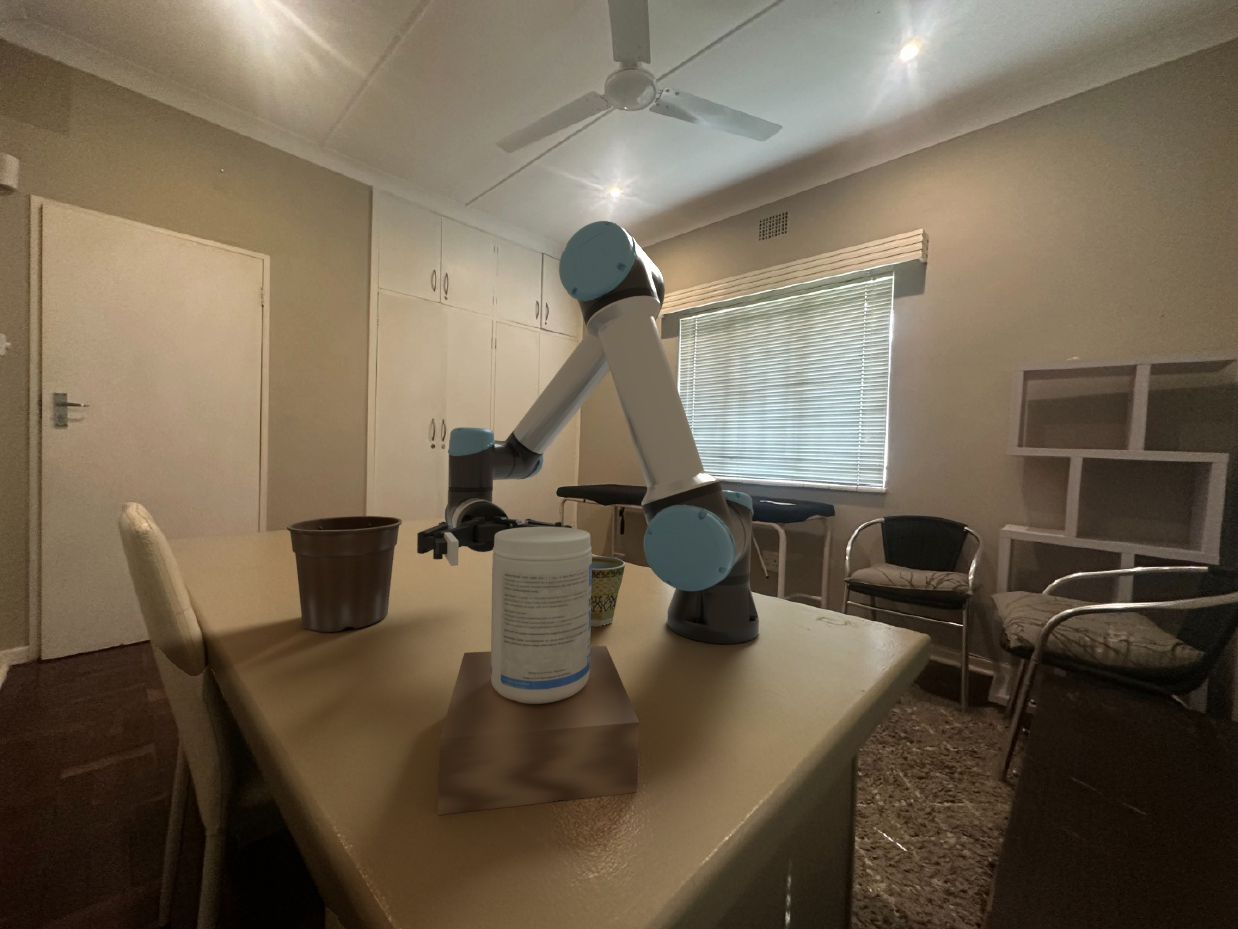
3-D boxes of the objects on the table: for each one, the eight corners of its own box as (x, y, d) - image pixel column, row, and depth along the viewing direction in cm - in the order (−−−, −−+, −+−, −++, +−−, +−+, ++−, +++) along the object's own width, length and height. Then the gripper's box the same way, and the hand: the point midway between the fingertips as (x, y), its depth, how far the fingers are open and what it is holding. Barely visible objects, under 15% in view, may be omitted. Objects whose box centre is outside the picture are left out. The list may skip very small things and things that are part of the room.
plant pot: (257, 636, 69) (259, 527, 69) (329, 602, 86) (331, 513, 85) (364, 641, 69) (366, 531, 68) (416, 606, 85) (419, 517, 85)
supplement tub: (609, 685, 46) (614, 535, 46) (525, 722, 39) (530, 546, 39) (550, 653, 53) (554, 522, 52) (471, 679, 46) (475, 530, 46)
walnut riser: (604, 696, 56) (606, 645, 55) (636, 792, 40) (639, 722, 40) (462, 706, 52) (464, 652, 52) (437, 815, 37) (439, 739, 36)
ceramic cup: (622, 631, 76) (624, 570, 76) (561, 629, 76) (563, 567, 76) (623, 606, 89) (625, 553, 89) (570, 604, 89) (572, 551, 89)
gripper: (555, 543, 80) (609, 571, 61) (392, 553, 69) (398, 592, 50) (556, 499, 80) (611, 514, 61) (393, 502, 69) (399, 522, 50)
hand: (515, 549), depth 55 cm, fingers open, 13 cm apart
